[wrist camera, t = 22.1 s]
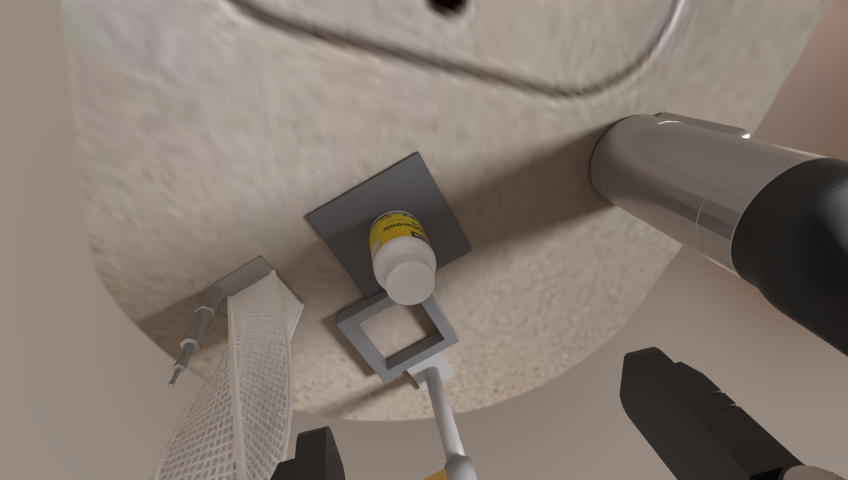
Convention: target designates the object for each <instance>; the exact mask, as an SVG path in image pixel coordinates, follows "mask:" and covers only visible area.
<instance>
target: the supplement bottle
mask: <svg viewBox="0 0 848 480" xmlns="http://www.w3.org/2000/svg"><path fill="white" fill-rule="evenodd" d="M369 244H370V250H371V257H372V263H373V270H374V274H375V277H376V279H377V281H378V283H379V284H380V285H381V286H382V287H383V288H384V289H385V290H386V291H387V293H388V295H389V297H390V298H391V299H392V300H393V301H395V302H397V303H399V304H402V305H415V304H418V303H420V302H422V301H424V300H426V299H427V298H428V297H429V296H430V295H431V293H432V292H433V290H434V287H435V276H434V274H435V270H436V258H435V255H434V252H433V249H432V247H431V245H430V243H429V241H428V239H427V236H426V234H425V232H424V230H423V228H422V226H421V224H420V222H419V221H418V220H417V219H416V218H415V217H414V216H413V215H411V214H409V213H407V212H404V211H390V212H387V213H384V214H382V215H381V216H379V217H378V218H377V219H376V220H375V221H374V223H373V224H372V226H371V229H370V232H369Z"/></svg>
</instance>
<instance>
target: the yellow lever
mask: <svg viewBox="0 0 848 480" xmlns="http://www.w3.org/2000/svg"><path fill="white" fill-rule="evenodd" d="M424 480H477V477H476V474H475V471H474V468H473V465H472V462H471V459H470V458H469V457H467V456H456V457H453V458H451V459H450V460H449V461H447V463H446V464H445V467H444V469H442V470H441V471H439V472H437V473H435V474H433V475H431V476H429V477H428V478H426V479H424Z"/></svg>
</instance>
